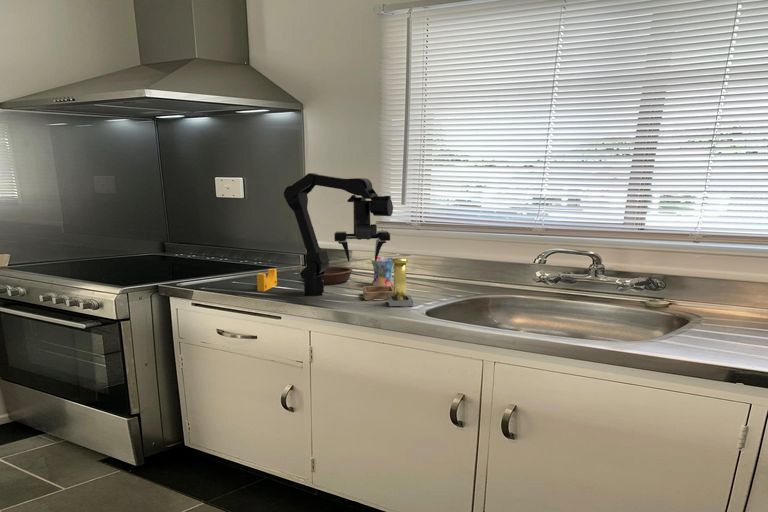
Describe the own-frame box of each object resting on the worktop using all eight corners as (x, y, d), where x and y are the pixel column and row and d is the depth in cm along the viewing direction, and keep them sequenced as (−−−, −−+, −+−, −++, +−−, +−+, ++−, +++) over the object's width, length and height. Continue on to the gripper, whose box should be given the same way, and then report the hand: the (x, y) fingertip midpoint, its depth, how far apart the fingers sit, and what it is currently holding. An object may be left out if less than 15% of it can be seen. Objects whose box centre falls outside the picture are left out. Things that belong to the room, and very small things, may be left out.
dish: (364, 280, 211) (364, 268, 211) (328, 289, 194) (327, 276, 193) (333, 275, 222) (332, 263, 221) (295, 283, 204) (295, 271, 203)
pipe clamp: (266, 284, 202) (265, 268, 201) (276, 285, 201) (276, 268, 200) (253, 291, 190) (252, 274, 189) (264, 291, 189) (263, 274, 188)
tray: (364, 300, 174) (364, 292, 174) (363, 293, 184) (363, 286, 184) (395, 300, 175) (395, 291, 175) (392, 293, 185) (392, 285, 185)
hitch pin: (392, 306, 167) (392, 260, 164) (391, 302, 172) (391, 257, 170) (408, 305, 167) (409, 260, 165) (406, 302, 172) (406, 257, 170)
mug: (384, 289, 191) (384, 261, 190) (365, 286, 197) (365, 259, 196) (404, 284, 201) (404, 257, 199) (385, 281, 206) (385, 255, 205)
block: (389, 307, 165) (389, 301, 165) (387, 301, 173) (387, 295, 173) (413, 306, 166) (413, 300, 166) (409, 301, 174) (409, 295, 173)
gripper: (334, 217, 165) (335, 265, 168) (392, 217, 167) (392, 264, 170) (334, 215, 176) (334, 260, 179) (388, 214, 178) (388, 259, 181)
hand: (362, 261), depth 177 cm, fingers open, 9 cm apart
